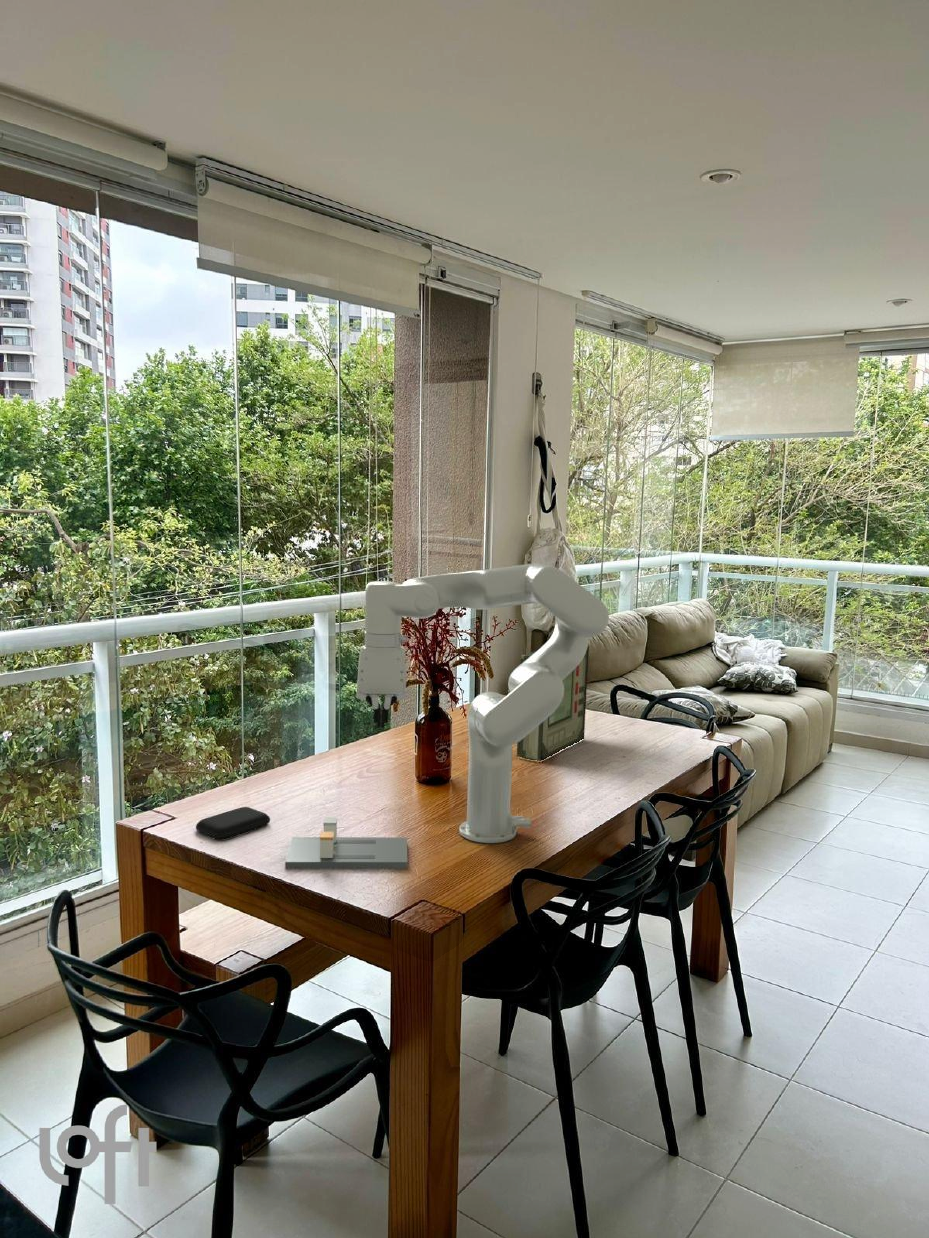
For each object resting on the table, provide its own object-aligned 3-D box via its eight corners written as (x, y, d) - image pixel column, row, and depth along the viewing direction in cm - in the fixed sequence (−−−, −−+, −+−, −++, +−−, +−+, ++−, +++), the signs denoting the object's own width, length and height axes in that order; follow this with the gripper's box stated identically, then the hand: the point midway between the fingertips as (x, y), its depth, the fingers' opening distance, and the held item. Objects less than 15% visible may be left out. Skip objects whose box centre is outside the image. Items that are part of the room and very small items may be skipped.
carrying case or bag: (243, 814, 208) (188, 832, 196) (243, 801, 207) (188, 818, 196) (274, 826, 201) (219, 844, 190) (274, 813, 201) (219, 830, 189)
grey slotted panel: (406, 844, 193) (406, 837, 192) (407, 869, 180) (407, 861, 179) (292, 843, 191) (292, 836, 190) (285, 869, 178) (285, 861, 178)
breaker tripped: (333, 851, 182) (334, 831, 182) (332, 858, 179) (333, 837, 179) (320, 851, 182) (321, 831, 181) (319, 858, 179) (319, 837, 178)
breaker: (336, 837, 190) (337, 817, 190) (335, 842, 187) (336, 822, 187) (324, 836, 190) (324, 817, 189) (323, 842, 187) (323, 822, 186)
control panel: (540, 763, 255) (544, 658, 251) (516, 758, 259) (520, 655, 255) (583, 740, 280) (588, 645, 276) (562, 736, 284) (566, 642, 280)
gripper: (418, 638, 193) (415, 722, 195) (347, 637, 192) (346, 721, 194) (418, 644, 186) (416, 731, 188) (345, 642, 184) (344, 730, 187)
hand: (380, 726), depth 191 cm, fingers closed
